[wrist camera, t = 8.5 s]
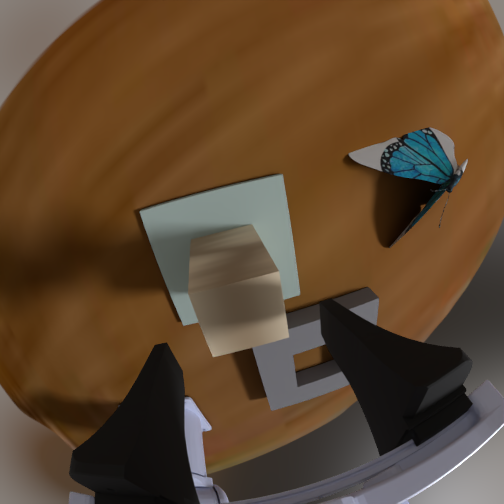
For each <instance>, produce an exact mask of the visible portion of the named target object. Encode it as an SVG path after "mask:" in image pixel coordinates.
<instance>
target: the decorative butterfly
mask: <svg viewBox="0 0 504 504" xmlns="http://www.w3.org/2000/svg"><path fill="white" fill-rule="evenodd" d="M349 156H350V157H351V158H352V159H353V160H354V161H356V162H358V163H360V164H362V165H365V166H368V167H371V168H374V169H377V170H380V171H382V172H386V173H389V174H392V175H396V176H401V177H405V178H412V179H420V180H425V181H429V182H433V183H437V184H442V185H441V186H440V187H439V189H438V190H437V191H436V192H435V194H434V195H433V196H432V198H431V199H430V200H429V201H428V202H427V204H426V205H425V207H424V208H423V209H422V211H421V212H420V213H419V214H418V215H417V216H416V217H415V218H414V219H413V220H412V222H411V223H410V224H409V225H408V226H407V227H406V229H405V230H404V231H403V232H402V233H401V234H400V236H399V237H398V238H397V239H396V240H395V241H394V242H393V244H392V245H391V246H390V247H392V246H393V245H394V244H395V243H396V242H397V241H398V240H399V239H400V238H402V237H403V236H404V235H405V234H406V233H407V232H408V231H409V230H410V229H411V228H412V227H413V226H414V225H415V224H416V223H417V222H418V221H419V220H420V219H421V218H422V216H423V215H424V214H425V213H426V212H427V211H428V210H429V209H430V208H431V207H432V205H433V204H434V203H435V202H436V201H437V200H438V199H439V198H440V197H441V196H442V194H443V193H444V192H445V191H447V192H449V193H450V192H452V189H453V187H454V186H456V184H457V183H458V182H459V180H460V178H461V176H462V174H463V172H464V170H465V167H466V164H467V161H468V159H467V160H465V161H464V162H463V163H462V165H461V166H460V167H459V165H458V166H457V162H456V159H455V157H454V143H453V141H452V140H451V139H450V138H449V137H448V136H447V135H445V134H444V133H442V132H440V131H438V130H436V129H433V128H430V127H429V128H425V129H421V130H418V131H415V132H412V133H408V134H405V135H403V140H402V139H400V138H392V139H390V140H388V141H386V142H383V143H379V144H375V145H372V146H369V147H366V148H363V149H360V150H357V151H354V152H351V153H349ZM430 190H431V189H430ZM431 191H432V190H431ZM448 198H449V197H448ZM447 201H448V200H447ZM446 203H447V202H446ZM445 206H446V205H445ZM444 208H445V207H444ZM443 211H444V210H443ZM442 214H443V213H442ZM441 218H442V216H441ZM440 222H441V220H440ZM439 228H440V225H439ZM390 247H389V248H390Z"/></svg>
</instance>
